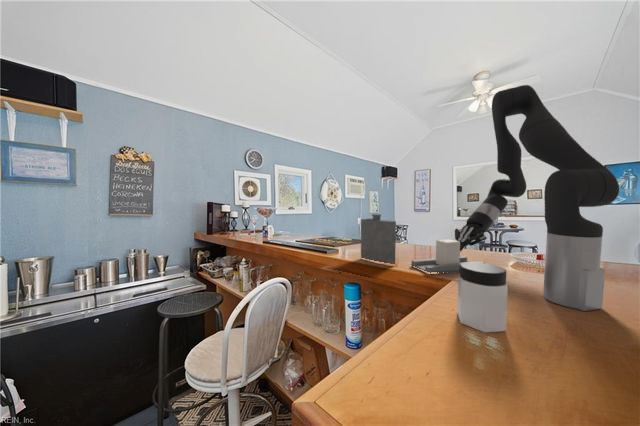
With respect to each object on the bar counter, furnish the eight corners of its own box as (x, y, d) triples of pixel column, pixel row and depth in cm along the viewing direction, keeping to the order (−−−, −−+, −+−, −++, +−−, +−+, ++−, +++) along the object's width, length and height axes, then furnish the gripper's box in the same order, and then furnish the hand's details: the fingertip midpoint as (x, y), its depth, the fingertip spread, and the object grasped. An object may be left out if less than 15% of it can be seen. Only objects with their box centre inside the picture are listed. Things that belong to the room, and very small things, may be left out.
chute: (485, 269, 84) (485, 262, 84) (429, 275, 79) (429, 267, 78) (462, 262, 94) (462, 256, 94) (411, 266, 88) (411, 260, 88)
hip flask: (396, 265, 90) (397, 214, 89) (391, 267, 88) (391, 215, 86) (363, 257, 102) (364, 212, 101) (358, 259, 99) (358, 213, 98)
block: (459, 265, 84) (460, 241, 84) (445, 267, 83) (446, 242, 82) (448, 262, 89) (449, 239, 89) (435, 263, 88) (436, 240, 87)
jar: (483, 311, 54) (485, 260, 53) (516, 331, 46) (519, 272, 45) (447, 313, 53) (449, 262, 52) (474, 334, 45) (477, 274, 44)
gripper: (463, 210, 94) (437, 241, 92) (494, 212, 81) (464, 248, 79) (473, 222, 96) (447, 253, 94) (505, 226, 83) (476, 262, 81)
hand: (455, 250), depth 87 cm, fingers closed
